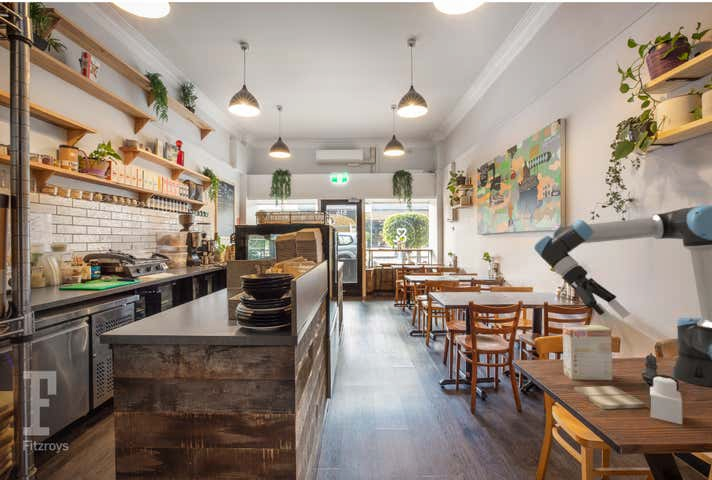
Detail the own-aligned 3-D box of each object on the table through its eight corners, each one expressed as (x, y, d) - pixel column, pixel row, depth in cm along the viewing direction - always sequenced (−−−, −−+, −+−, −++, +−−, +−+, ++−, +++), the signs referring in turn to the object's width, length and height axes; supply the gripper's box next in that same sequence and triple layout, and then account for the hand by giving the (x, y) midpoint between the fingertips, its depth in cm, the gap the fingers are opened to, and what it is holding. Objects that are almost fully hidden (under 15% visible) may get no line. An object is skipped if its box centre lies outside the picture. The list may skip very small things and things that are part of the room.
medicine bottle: (650, 408, 113) (649, 370, 113) (680, 415, 108) (679, 375, 108) (650, 417, 107) (649, 377, 107) (682, 425, 103) (681, 383, 103)
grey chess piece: (666, 389, 127) (665, 355, 127) (647, 388, 128) (646, 354, 128) (656, 383, 133) (655, 350, 133) (637, 382, 134) (637, 349, 134)
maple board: (612, 389, 128) (612, 385, 128) (645, 407, 114) (645, 403, 114) (574, 390, 127) (574, 387, 127) (602, 409, 113) (602, 405, 113)
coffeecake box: (602, 373, 143) (601, 324, 143) (613, 380, 136) (612, 329, 136) (562, 373, 144) (561, 324, 144) (571, 380, 137) (570, 329, 137)
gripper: (577, 275, 142) (623, 320, 129) (547, 280, 127) (595, 331, 115) (592, 262, 137) (641, 307, 125) (562, 266, 122) (614, 317, 110)
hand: (619, 319), depth 120 cm, fingers open, 13 cm apart
